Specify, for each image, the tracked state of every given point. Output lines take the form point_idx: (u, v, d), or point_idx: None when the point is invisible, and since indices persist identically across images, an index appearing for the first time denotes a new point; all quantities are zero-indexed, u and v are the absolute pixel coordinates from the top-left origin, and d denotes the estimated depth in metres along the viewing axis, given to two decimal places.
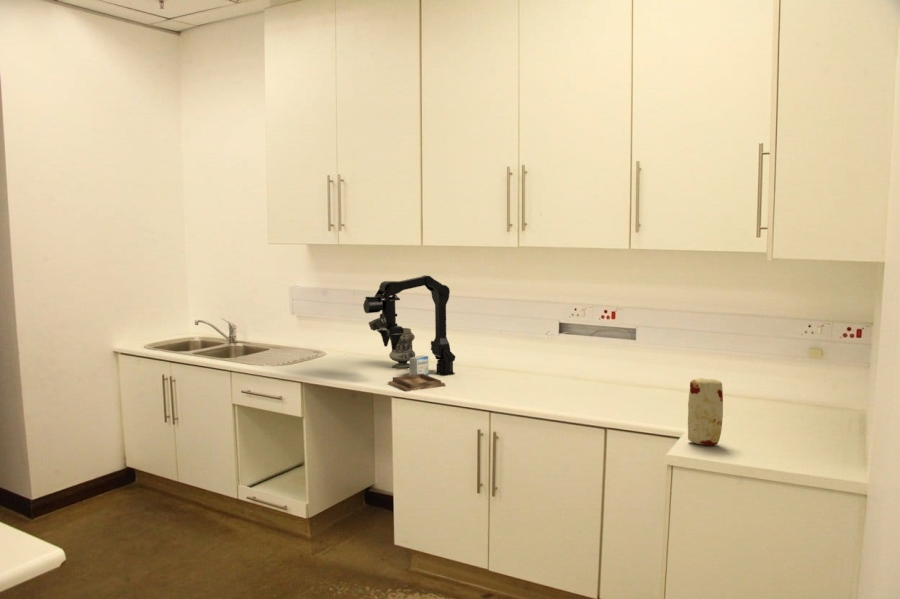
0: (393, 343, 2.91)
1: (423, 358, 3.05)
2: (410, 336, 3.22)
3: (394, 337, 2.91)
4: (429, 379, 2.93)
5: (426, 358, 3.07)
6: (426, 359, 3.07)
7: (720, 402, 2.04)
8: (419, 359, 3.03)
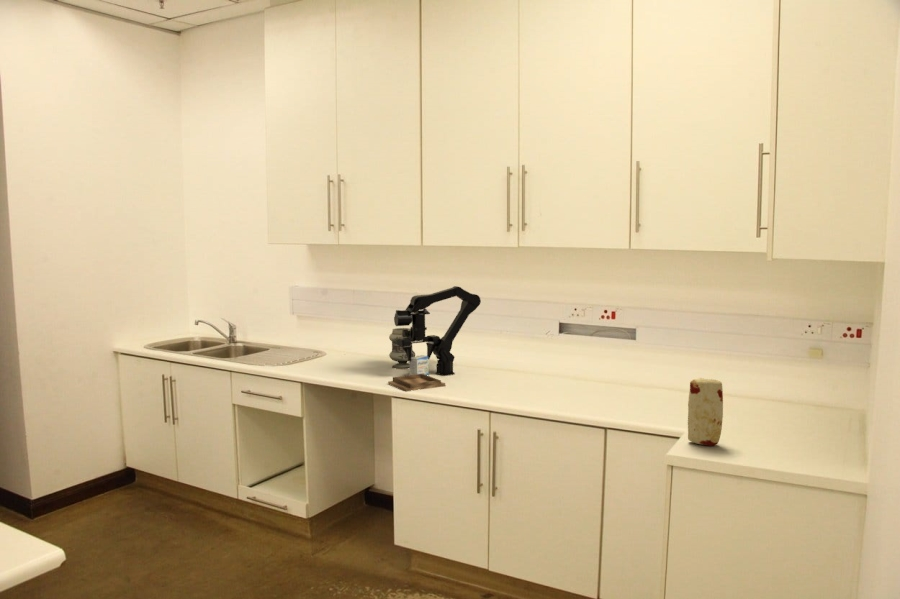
0: (407, 355, 3.03)
1: (423, 358, 3.05)
2: None
3: (407, 349, 3.03)
4: (429, 379, 2.93)
5: (426, 358, 3.07)
6: (426, 359, 3.07)
7: (720, 402, 2.04)
8: (419, 359, 3.03)
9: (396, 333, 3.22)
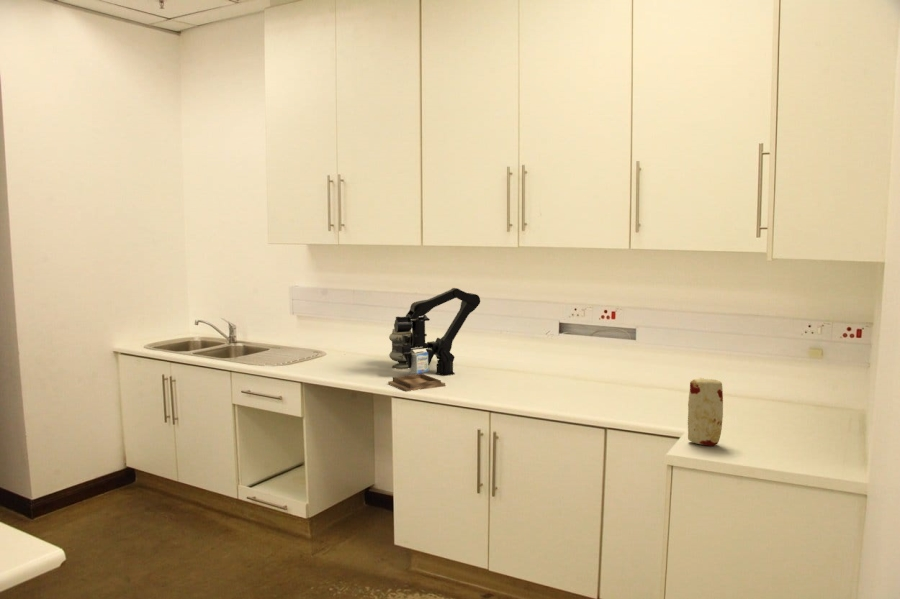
0: (407, 361, 3.04)
1: (423, 354, 3.05)
2: None
3: (407, 355, 3.03)
4: (429, 379, 2.93)
5: (426, 354, 3.07)
6: (426, 355, 3.07)
7: (720, 402, 2.04)
8: (418, 355, 3.03)
9: (396, 333, 3.22)
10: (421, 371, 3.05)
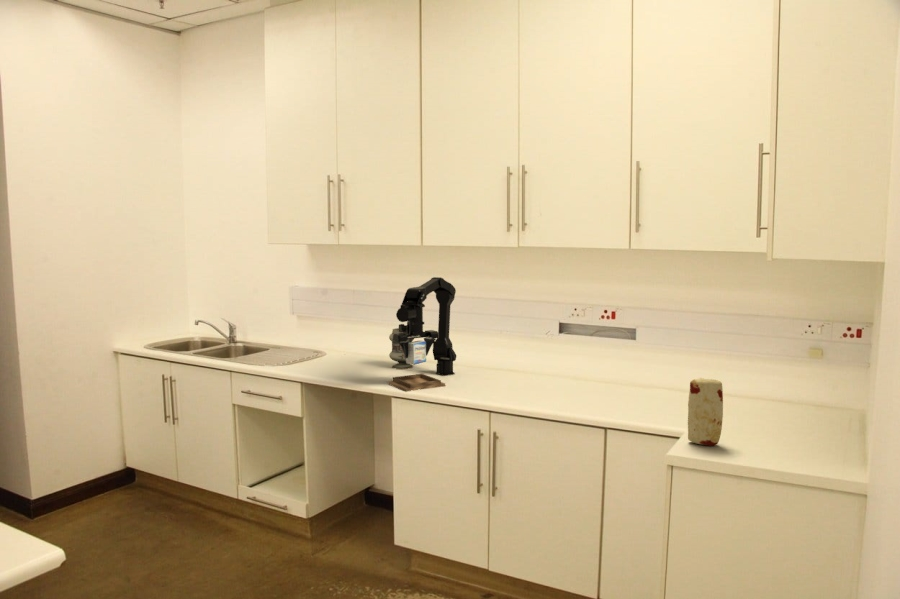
0: (403, 351, 2.86)
1: (420, 343, 2.88)
2: None
3: (403, 345, 2.85)
4: (429, 379, 2.93)
5: (424, 343, 2.89)
6: (424, 344, 2.89)
7: (720, 402, 2.04)
8: (415, 344, 2.85)
9: None
10: (418, 361, 2.87)
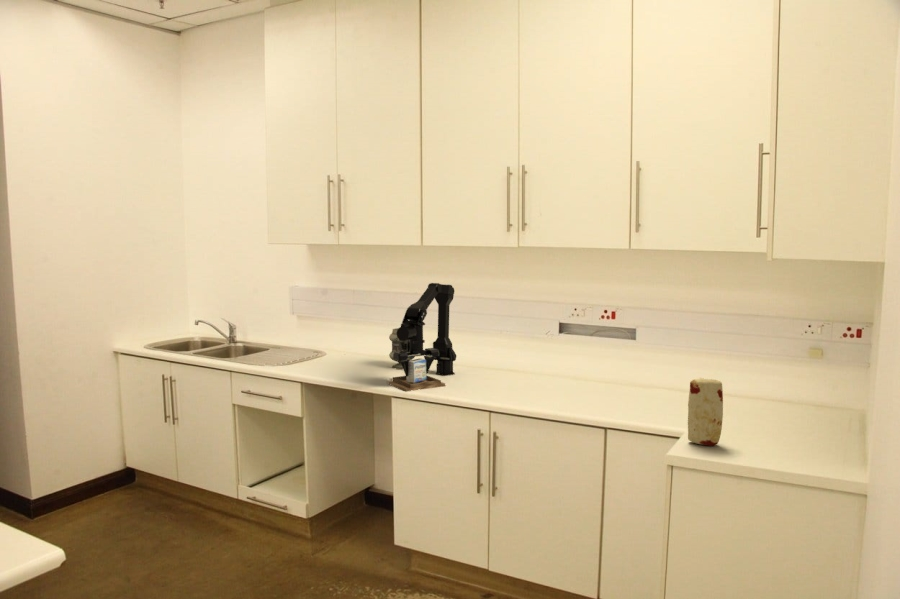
0: (404, 369, 2.87)
1: (421, 361, 2.88)
2: None
3: (404, 363, 2.86)
4: (429, 379, 2.93)
5: (424, 361, 2.90)
6: (424, 363, 2.90)
7: (720, 402, 2.04)
8: (416, 363, 2.86)
9: (396, 333, 3.22)
10: (419, 379, 2.88)
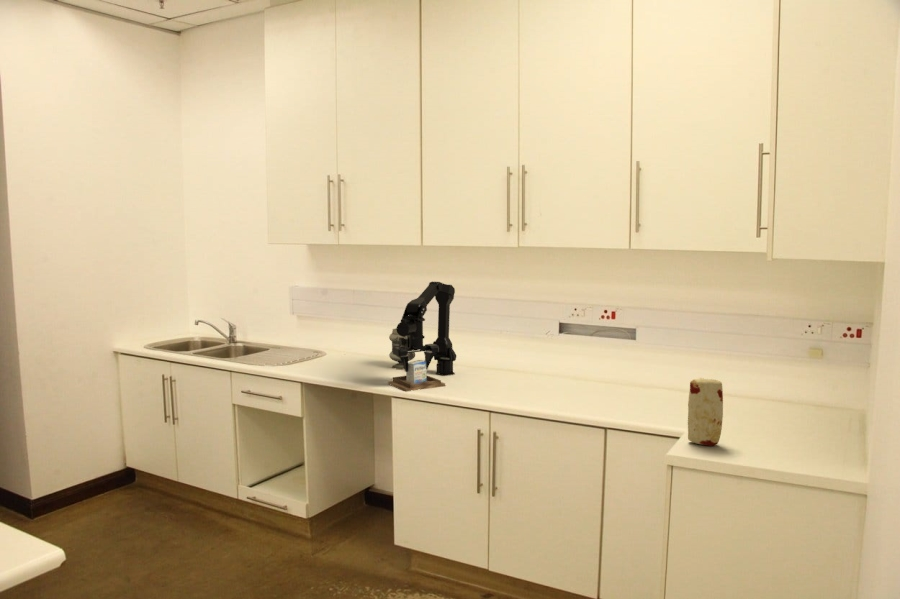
0: (403, 365, 2.86)
1: (420, 363, 2.88)
2: None
3: (403, 359, 2.86)
4: (429, 379, 2.93)
5: (424, 363, 2.90)
6: (424, 364, 2.90)
7: (720, 402, 2.04)
8: (416, 364, 2.86)
9: (396, 333, 3.22)
10: (419, 381, 2.88)
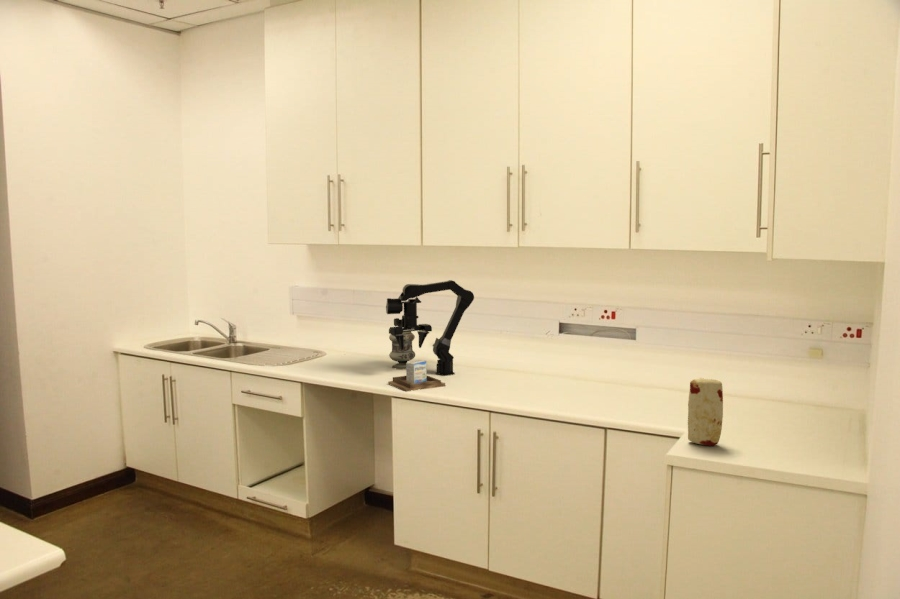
0: (399, 343, 3.04)
1: (421, 363, 2.88)
2: (410, 336, 3.22)
3: (399, 338, 3.03)
4: (429, 379, 2.93)
5: (424, 363, 2.90)
6: (424, 364, 2.90)
7: (720, 402, 2.04)
8: (416, 364, 2.86)
9: None
10: (419, 381, 2.88)
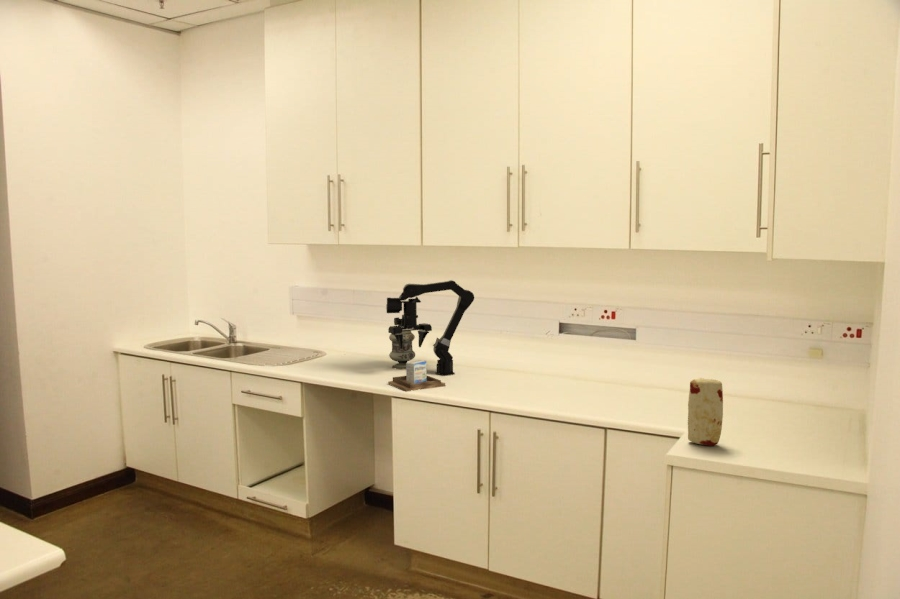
0: (398, 342, 3.05)
1: (421, 363, 2.88)
2: (410, 336, 3.22)
3: (398, 337, 3.05)
4: (429, 379, 2.93)
5: (424, 363, 2.90)
6: (424, 364, 2.90)
7: (720, 402, 2.04)
8: (416, 364, 2.86)
9: None
10: (419, 381, 2.88)
